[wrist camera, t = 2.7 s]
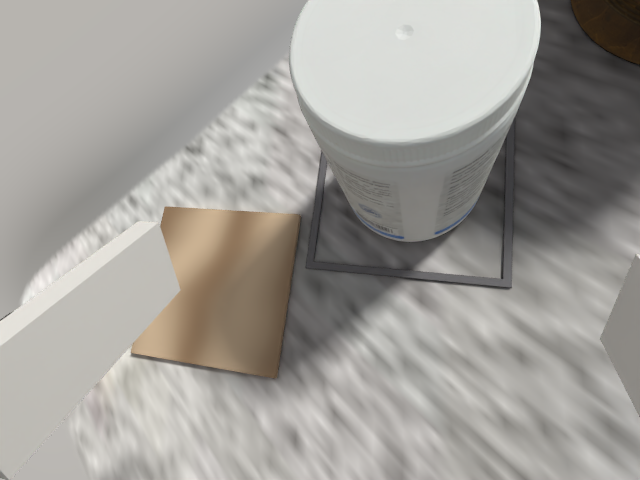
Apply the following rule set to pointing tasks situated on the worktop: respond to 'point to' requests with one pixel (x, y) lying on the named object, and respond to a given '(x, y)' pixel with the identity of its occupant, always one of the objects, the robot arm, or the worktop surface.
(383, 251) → the worktop surface
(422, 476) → the worktop surface
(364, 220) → the supplement tub
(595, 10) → the wooden container
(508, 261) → the dark square outline frame
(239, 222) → the wooden coaster
